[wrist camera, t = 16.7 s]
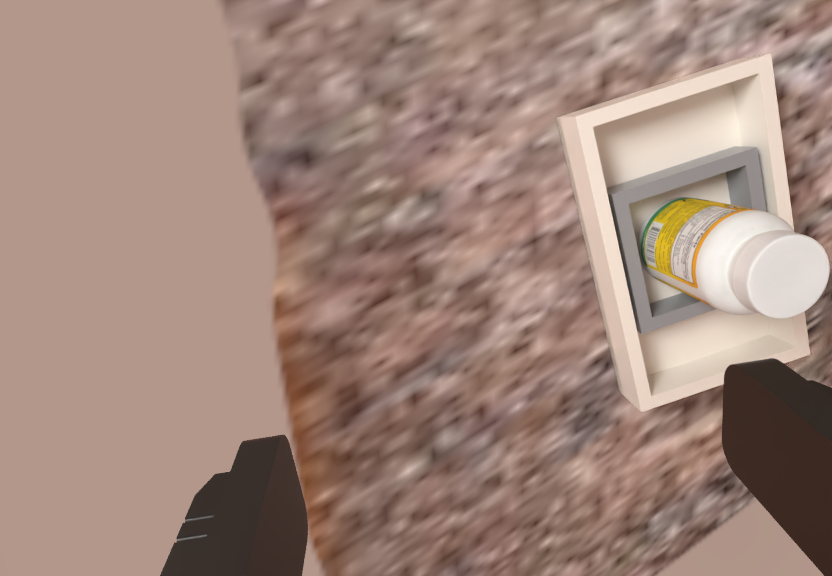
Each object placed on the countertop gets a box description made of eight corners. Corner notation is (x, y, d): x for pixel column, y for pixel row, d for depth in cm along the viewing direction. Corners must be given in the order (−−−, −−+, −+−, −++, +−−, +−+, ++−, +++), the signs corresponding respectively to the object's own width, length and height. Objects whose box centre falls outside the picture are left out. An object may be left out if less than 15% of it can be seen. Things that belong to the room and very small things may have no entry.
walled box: (556, 117, 34) (575, 116, 32) (735, 59, 35) (771, 53, 32) (619, 391, 39) (641, 412, 37) (776, 338, 40) (810, 354, 37)
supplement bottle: (618, 233, 36) (712, 268, 27) (691, 176, 36) (811, 192, 26) (663, 300, 37) (767, 355, 28) (734, 246, 37) (863, 284, 28)
